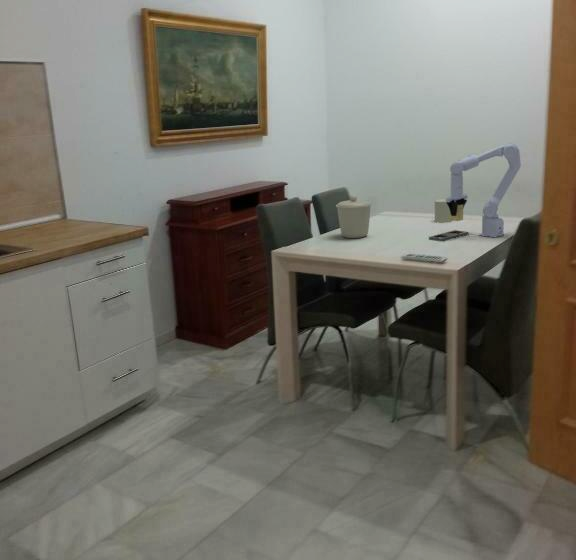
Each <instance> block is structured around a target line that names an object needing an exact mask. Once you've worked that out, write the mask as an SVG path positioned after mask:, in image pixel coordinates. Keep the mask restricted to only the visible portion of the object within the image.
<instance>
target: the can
mask: <svg viewBox="0 0 576 560" xmlns="http://www.w3.org/2000/svg"><path fill="white" fill-rule="evenodd" d="M434 221H435V222H434V223H437V222H439V223H440V224H443V223H444V224H445V222H447V223H451V222H452V220H450V209H449V207H448V205H447V202H446V198H445V199H444V198H441V199H436V200H434Z"/></svg>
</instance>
